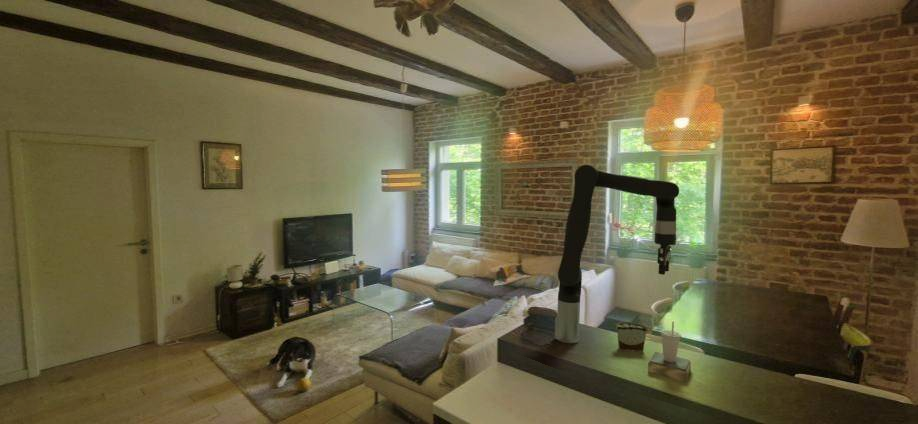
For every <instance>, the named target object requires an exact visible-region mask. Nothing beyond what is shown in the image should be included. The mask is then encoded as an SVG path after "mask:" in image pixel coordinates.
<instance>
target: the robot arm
mask: <svg viewBox="0 0 918 424" xmlns="http://www.w3.org/2000/svg"><path fill="white" fill-rule="evenodd" d="M573 187H574V188H573V198H572V201H571V204H570V207H569V211H568V214H567V218H566V225H565V231H564V232H565V233H564V240H563V241H564V242H563V250H562V251H563V252H562V257H561V261H560V264H559V267H558V271H557V278H558V279H557V280H559V287H558V293H557V311H556V312H557V313H556V314H557V316H556V317H555V319H554V320H555V321H554V325H555V326H554V339H555V340H557V341H559V342H560V343H564V344H577V343H578V342H579V340H580V317H581V313H580V312H581V311H580V309H581V294H582V282H583V281H582V280H583V279H582V278H583V275H582V273H583V272H582V268H581V259H582V254H583V250H584V248H585V245H586V242H587V238H588V235H589V229H590V224H591V215H592V214H591V213H592V200H593V196H594V195H593V194H594V191H595V188H606V189H612V190H616V191H620V192H623V193H629V194H634V195H639V196H644V197H646V196H650V197H654V198H655V201H656V202H655V203H656V214H655V215H656V216H655V225H654V227H655V228H654V243H655V244H656V245H659V247H658V248H657V261H656V263H657V264H658V274H659V275H663V276H664V275H665V274H666V272H669V271H670V262H671V259H672V256H671V255H672V246H675V245H676V243H677V208H676V205H675V204H676V203H675V199H676V198H677V197H678V195H680V187H679V186H678V185H677V184H676V183H674V182H671V181H668V180H667V181H666V180H658V179H650V178H646V177H642V176H635V175H627V174H616V173H611V172H607V171H603V170H599V169H597V168H596V167H594V166H593V165H591V164H588V163H587V164H583V165H580V166H579V167H577V169H576V170H575V172H574V186H573Z"/></svg>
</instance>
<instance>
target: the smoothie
mask: <svg viewBox="0 0 918 424" xmlns="http://www.w3.org/2000/svg"><path fill="white" fill-rule="evenodd" d="M671 322H672V323H671V330H668V329H667V330H666V329H665V330H662V331H661V332H660V336H661V342H662V343H661V344H662V353H663V357H664V360H665V361H668V362H675V360H676V357H678V356H677V355H678V350H679V345H680V340H681V339H682V335H681V334H680V333H679V332H676V331H674V328H675V326H674V325H675V321H671Z"/></svg>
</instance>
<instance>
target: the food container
mask: <svg viewBox="0 0 918 424" xmlns="http://www.w3.org/2000/svg"><path fill="white" fill-rule="evenodd" d="M615 330H616V332H617V344H618V350H619V351H628V350H635V351H634V352H644V351H645V350H644V348H645V342H646V335H647V333H648V332H649V329H648V327H647V326H646V325H644V324H641V323H638V322H634V321H632V322H631V321H620V322H617V324H616V325H615ZM636 350H637V351H636Z"/></svg>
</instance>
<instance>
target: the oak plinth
mask: <svg viewBox="0 0 918 424" xmlns="http://www.w3.org/2000/svg"><path fill="white" fill-rule="evenodd" d="M691 369H692V361H690V359H687V358H683V357H678V356H676V360H675V362H668V361H665V360H664V357H663V352H657V351H654V352H653V354H652V355H651V357H650V359H649V360H648V363H647V372H648V371H649V372H648V373H650V372H652V373H651V374H654V373H657V374H656V375H658V374H659V375H658V376H662V375H663V376H662V377H665V376H666V378H669V377H670V379H673V380H677V381H681V382H685V383H687V382H688V379H689V376H690V374H691V372H692V370H691Z"/></svg>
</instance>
